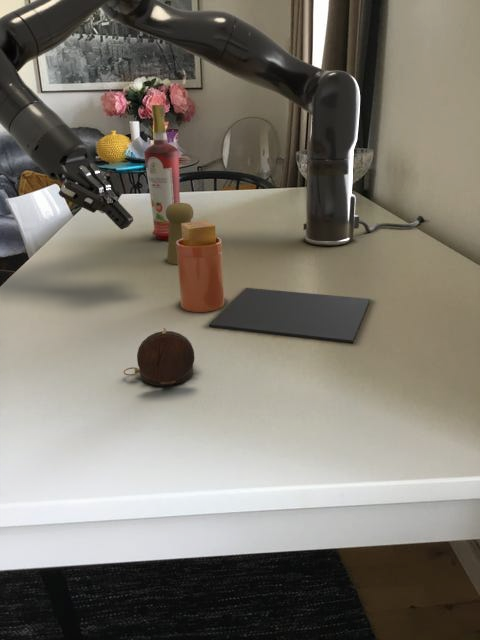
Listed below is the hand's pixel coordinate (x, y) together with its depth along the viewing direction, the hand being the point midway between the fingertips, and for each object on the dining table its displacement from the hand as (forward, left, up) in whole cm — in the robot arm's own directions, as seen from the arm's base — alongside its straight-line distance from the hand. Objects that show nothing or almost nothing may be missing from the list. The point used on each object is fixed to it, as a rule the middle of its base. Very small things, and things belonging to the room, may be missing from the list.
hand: (128, 224), depth 87 cm
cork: (-13, -17, -12) cm, 25 cm away
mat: (-20, +17, -12) cm, 29 cm away
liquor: (-15, -36, -12) cm, 41 cm away
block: (-9, +8, -3) cm, 12 cm away
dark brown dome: (+3, +29, -12) cm, 31 cm away
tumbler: (-9, +8, -12) cm, 17 cm away
